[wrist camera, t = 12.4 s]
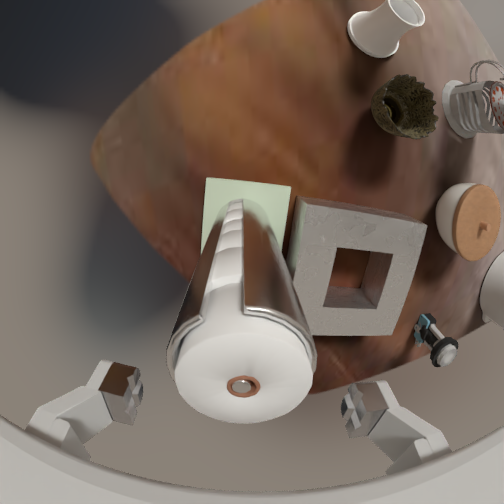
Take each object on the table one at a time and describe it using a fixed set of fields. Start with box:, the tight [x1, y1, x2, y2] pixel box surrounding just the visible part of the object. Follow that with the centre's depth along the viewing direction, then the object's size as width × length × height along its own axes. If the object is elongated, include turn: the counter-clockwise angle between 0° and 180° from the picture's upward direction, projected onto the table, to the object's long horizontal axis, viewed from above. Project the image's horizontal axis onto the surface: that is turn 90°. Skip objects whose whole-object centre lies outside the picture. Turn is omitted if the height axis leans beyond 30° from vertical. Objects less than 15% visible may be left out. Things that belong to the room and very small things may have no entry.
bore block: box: [286, 196, 427, 336], centre depth 34 cm, size 16×16×6 cm
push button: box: [414, 313, 458, 367], centre depth 37 cm, size 7×5×10 cm
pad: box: [201, 178, 291, 253], centre depth 34 cm, size 10×10×1 cm
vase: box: [347, 0, 425, 58], centre depth 21 cm, size 8×8×10 cm
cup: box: [371, 74, 438, 139], centre depth 26 cm, size 8×7×8 cm
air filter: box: [166, 199, 317, 424], centre depth 22 cm, size 6×6×25 cm
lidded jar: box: [435, 183, 501, 261], centre depth 30 cm, size 11×11×9 cm
